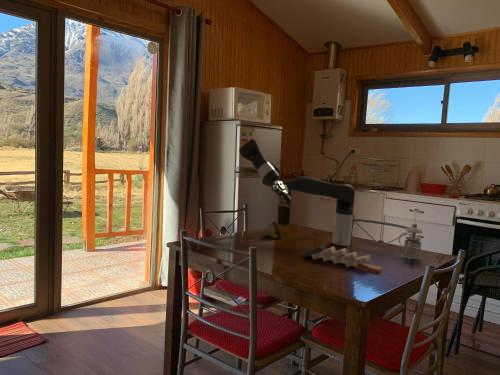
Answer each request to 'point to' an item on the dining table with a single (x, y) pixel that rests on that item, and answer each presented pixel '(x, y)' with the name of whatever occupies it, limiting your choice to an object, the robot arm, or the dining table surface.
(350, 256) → the domino
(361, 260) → the domino
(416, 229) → the french press
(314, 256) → the domino
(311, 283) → the dining table surface
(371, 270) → the domino
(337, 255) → the domino
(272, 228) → the rock
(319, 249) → the domino
